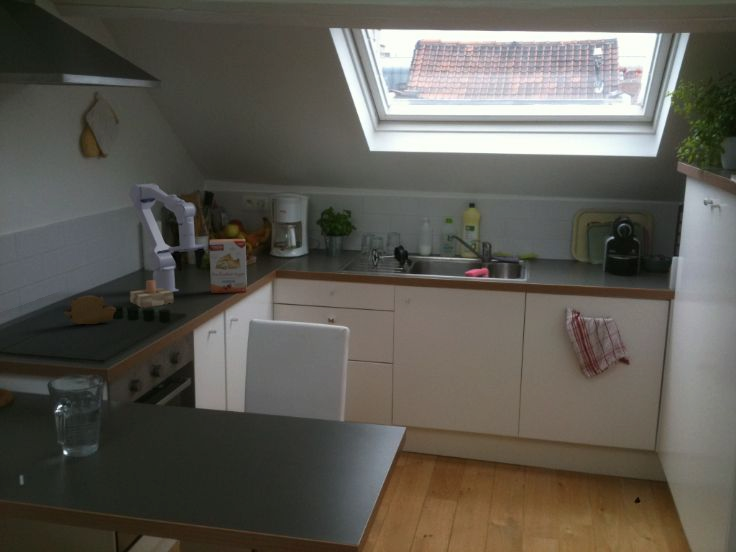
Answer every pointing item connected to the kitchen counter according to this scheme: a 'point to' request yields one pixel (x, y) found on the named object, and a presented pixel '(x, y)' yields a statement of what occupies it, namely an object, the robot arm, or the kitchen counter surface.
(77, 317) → the wooden carving
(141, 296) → the socket block
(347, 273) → the kitchen counter surface
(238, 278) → the cracker box
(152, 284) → the peg
